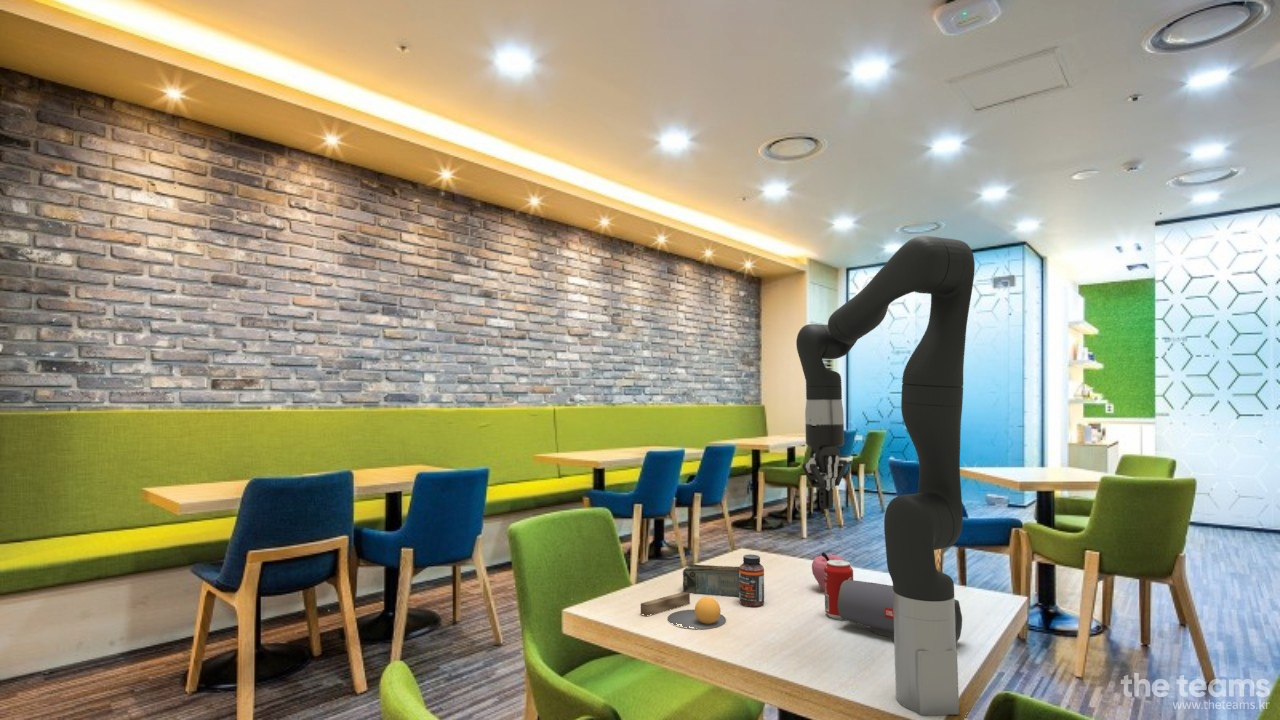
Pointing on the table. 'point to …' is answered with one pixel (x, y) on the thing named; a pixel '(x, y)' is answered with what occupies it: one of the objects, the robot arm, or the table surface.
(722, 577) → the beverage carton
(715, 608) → the ball
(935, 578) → the robot arm
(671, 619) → the mark
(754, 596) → the supplement bottle
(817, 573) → the apple
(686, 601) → the wooden bar
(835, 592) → the beverage can
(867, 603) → the bluetooth speaker
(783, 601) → the table surface
